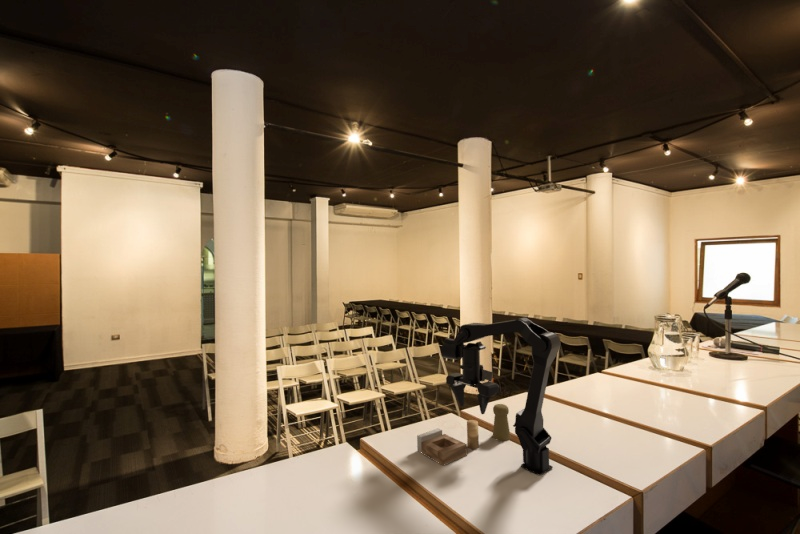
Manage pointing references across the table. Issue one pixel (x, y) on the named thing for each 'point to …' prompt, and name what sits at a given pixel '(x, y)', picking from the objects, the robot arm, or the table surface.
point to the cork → (501, 423)
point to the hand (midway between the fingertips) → (472, 410)
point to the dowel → (472, 434)
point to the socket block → (444, 449)
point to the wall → (427, 437)
